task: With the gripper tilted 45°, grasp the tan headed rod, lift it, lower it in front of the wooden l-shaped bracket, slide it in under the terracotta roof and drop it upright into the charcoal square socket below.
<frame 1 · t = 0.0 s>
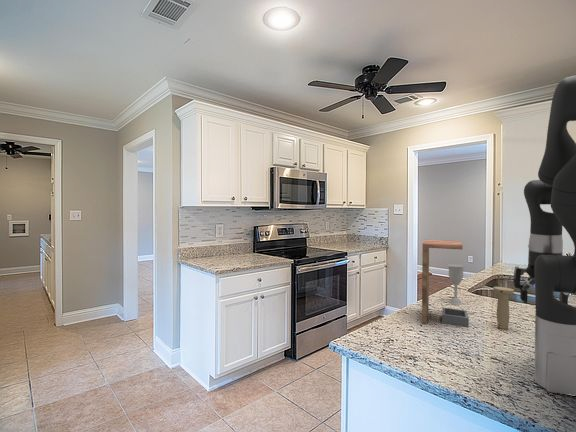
hand: (543, 304, 90), 17 cm above the counter, tool pointing down, fingers open, 8 cm apart
chalice: (455, 303, 148), on the counter
wooden l-shaped bracket: (454, 321, 124), on the counter
tan headed rod: (502, 328, 117), on the counter
socket: (454, 321, 124), on the counter
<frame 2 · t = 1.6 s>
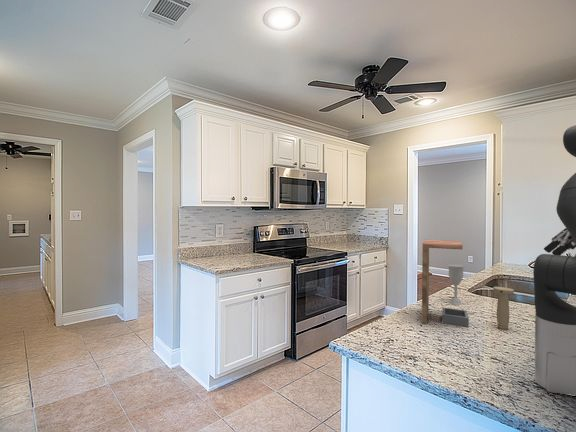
hand: (549, 252, 110), 29 cm above the counter, tool tilted 45°, fingers open, 8 cm apart
nothing on the counter moved.
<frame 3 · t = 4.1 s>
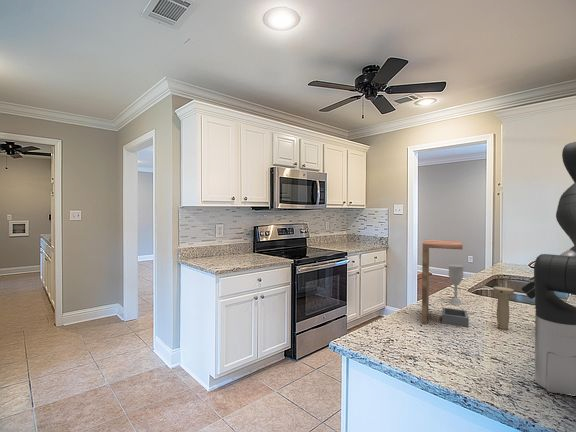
hand: (525, 293, 114), 14 cm above the counter, tool tilted 45°, fingers open, 8 cm apart
nothing on the counter moved.
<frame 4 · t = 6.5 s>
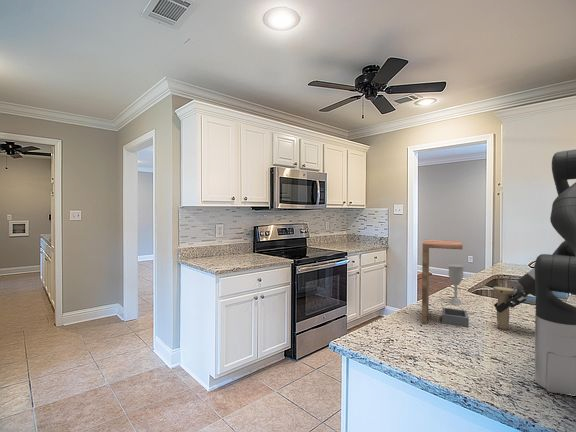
hand: (496, 308, 118), 7 cm above the counter, tool tilted 45°, fingers closed on tan headed rod, 3 cm apart
tan headed rod: (502, 328, 117), on the counter, touching gripper
everything else where it was.
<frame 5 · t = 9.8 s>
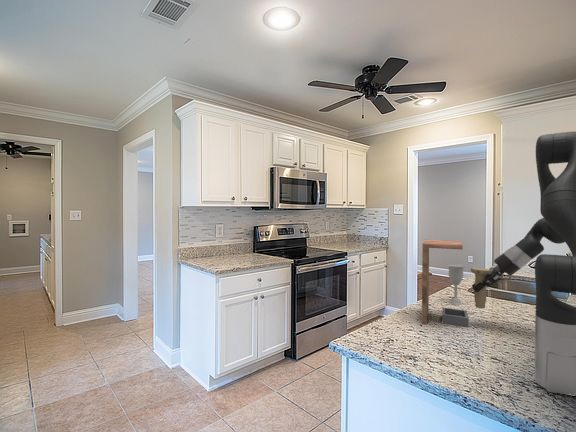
hand: (474, 289, 121), 14 cm above the counter, tool tilted 45°, fingers closed on tan headed rod, 3 cm apart
tan headed rod: (480, 308, 120), point 7 cm above the counter, touching gripper
everything else where it was.
when the fingers open (8 cm above the counter, at t = 13.0 s): tan headed rod stays where it is, resting in socket.
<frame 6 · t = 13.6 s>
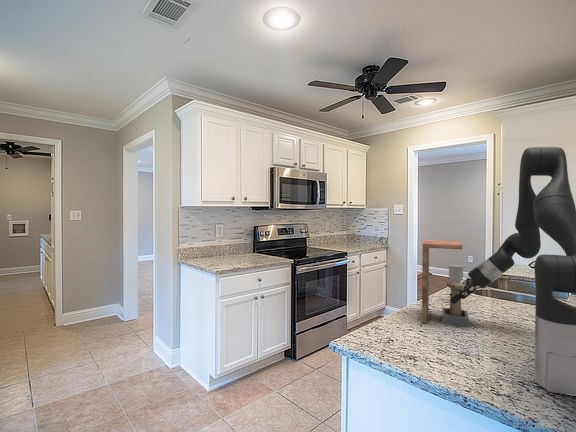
hand: (451, 299, 125), 9 cm above the counter, tool tilted 45°, fingers open, 8 cm apart
tan headed rod: (455, 321, 124), resting in socket
everything else where it was.
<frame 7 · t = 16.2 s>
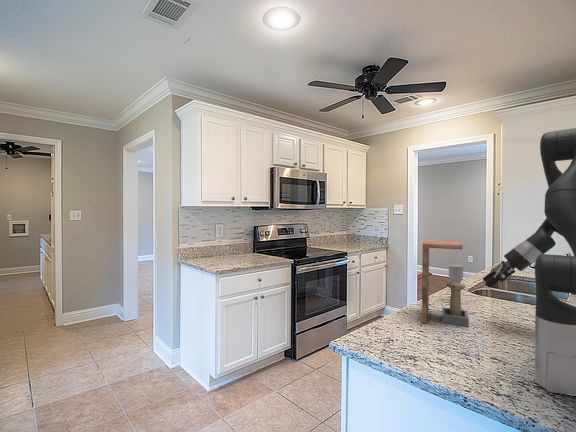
hand: (485, 283, 119), 16 cm above the counter, tool tilted 45°, fingers open, 8 cm apart
nothing on the counter moved.
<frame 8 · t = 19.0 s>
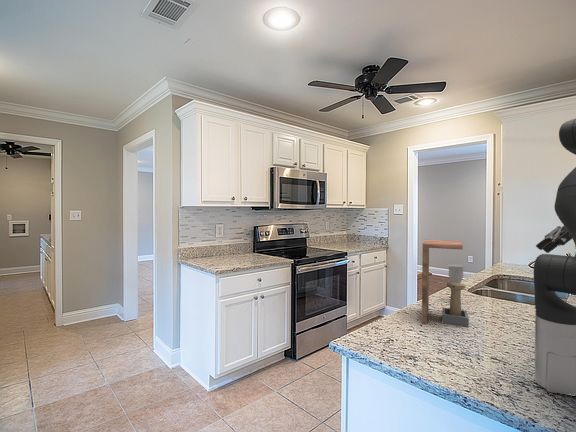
hand: (541, 249, 110), 31 cm above the counter, tool tilted 45°, fingers open, 8 cm apart
nothing on the counter moved.
at the end: tan headed rod 0.2 cm from the socket (horizontally); tan headed rod resting in socket; tan headed rod tilted 0° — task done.
